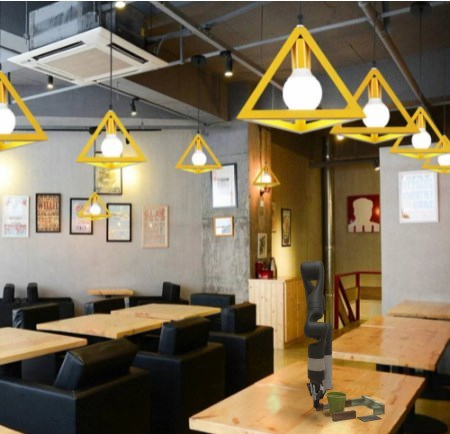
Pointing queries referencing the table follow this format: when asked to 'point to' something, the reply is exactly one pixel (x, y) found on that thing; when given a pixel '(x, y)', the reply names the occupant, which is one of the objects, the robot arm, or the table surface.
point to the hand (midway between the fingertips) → (316, 408)
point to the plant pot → (336, 401)
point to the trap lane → (364, 400)
